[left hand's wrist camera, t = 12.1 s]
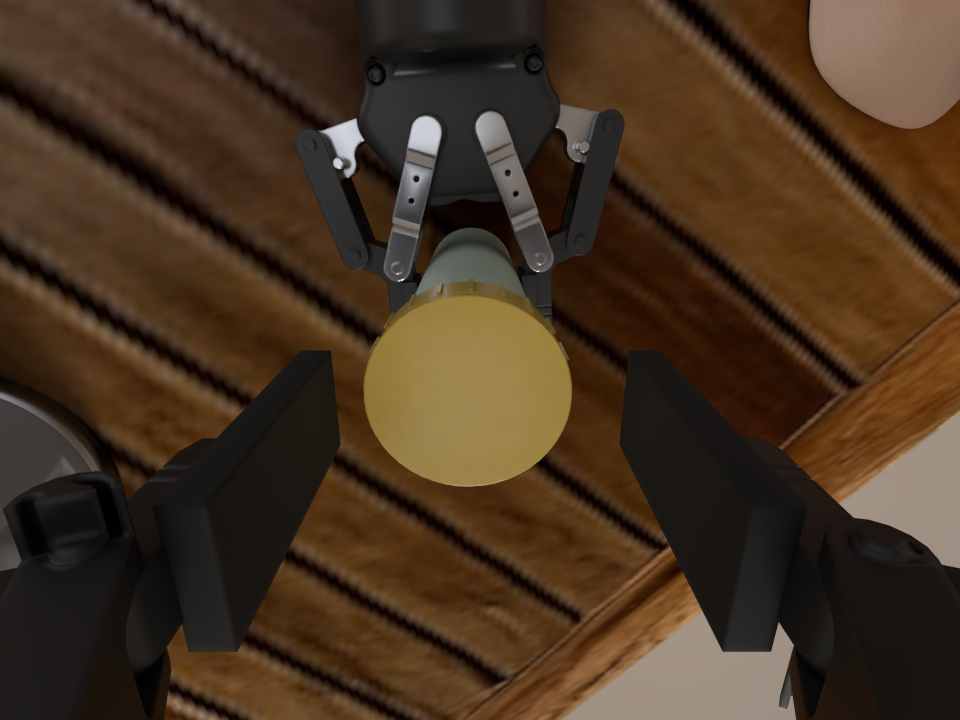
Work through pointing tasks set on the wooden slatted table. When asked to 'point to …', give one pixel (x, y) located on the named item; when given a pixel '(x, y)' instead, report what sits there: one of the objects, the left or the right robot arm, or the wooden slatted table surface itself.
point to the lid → (467, 384)
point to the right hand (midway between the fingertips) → (475, 346)
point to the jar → (471, 261)
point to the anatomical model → (890, 56)
